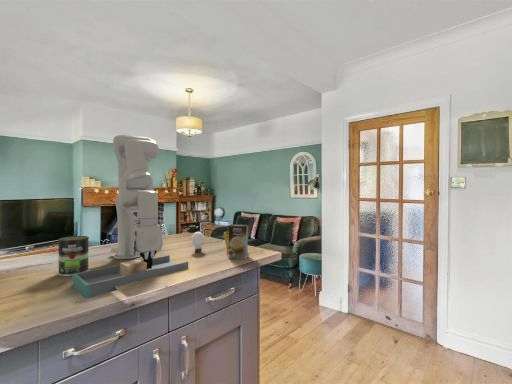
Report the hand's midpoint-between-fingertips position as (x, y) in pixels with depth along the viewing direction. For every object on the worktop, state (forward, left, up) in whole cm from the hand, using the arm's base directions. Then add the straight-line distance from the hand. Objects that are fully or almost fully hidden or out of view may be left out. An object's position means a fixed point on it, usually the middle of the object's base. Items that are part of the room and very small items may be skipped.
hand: (147, 268), depth 106 cm
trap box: (-3, -4, -3) cm, 6 cm away
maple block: (-3, -5, -1) cm, 6 cm away
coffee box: (+32, +30, -3) cm, 44 cm away
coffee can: (-31, 0, -3) cm, 31 cm away
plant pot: (+27, +44, -3) cm, 52 cm away
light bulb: (+9, +38, -3) cm, 39 cm away
